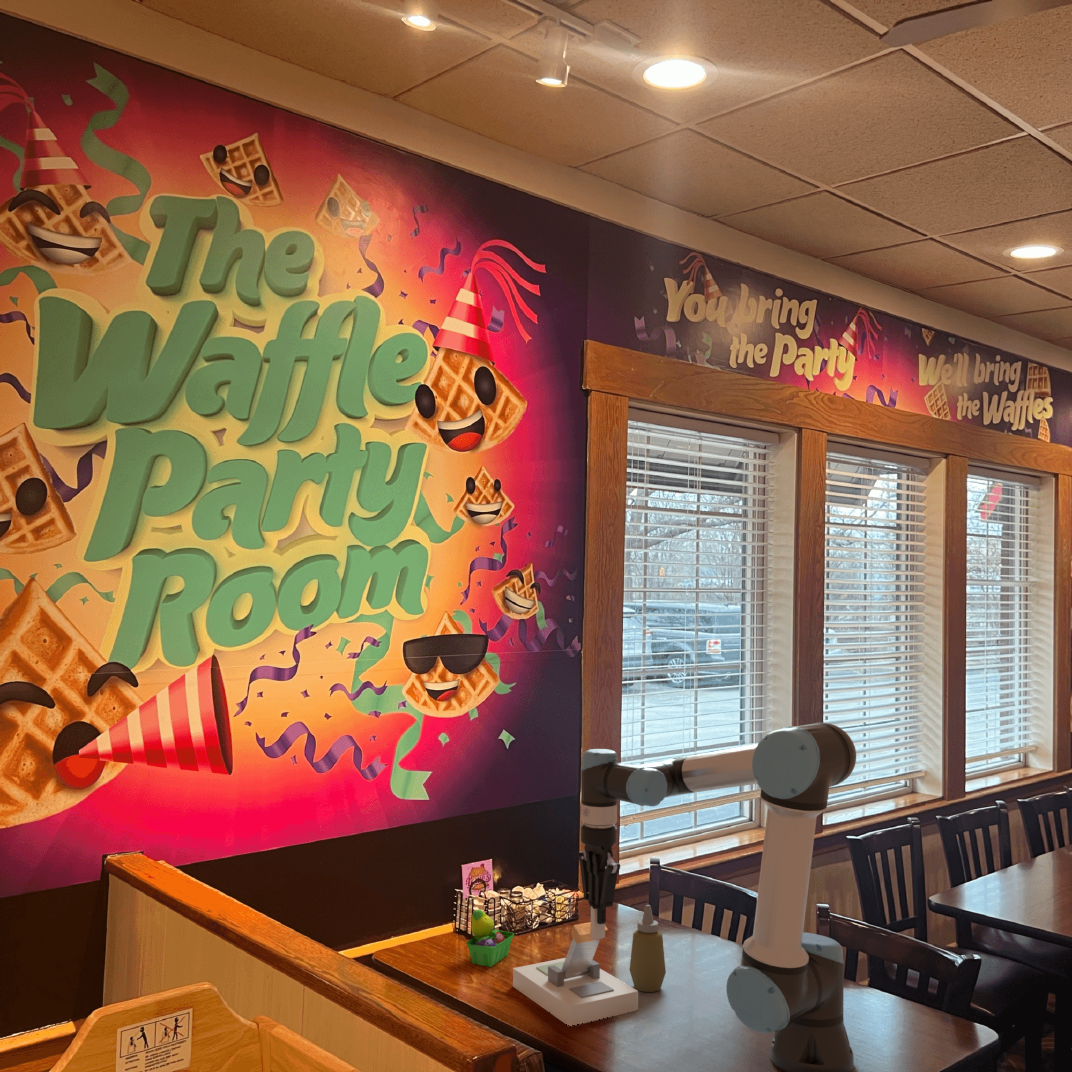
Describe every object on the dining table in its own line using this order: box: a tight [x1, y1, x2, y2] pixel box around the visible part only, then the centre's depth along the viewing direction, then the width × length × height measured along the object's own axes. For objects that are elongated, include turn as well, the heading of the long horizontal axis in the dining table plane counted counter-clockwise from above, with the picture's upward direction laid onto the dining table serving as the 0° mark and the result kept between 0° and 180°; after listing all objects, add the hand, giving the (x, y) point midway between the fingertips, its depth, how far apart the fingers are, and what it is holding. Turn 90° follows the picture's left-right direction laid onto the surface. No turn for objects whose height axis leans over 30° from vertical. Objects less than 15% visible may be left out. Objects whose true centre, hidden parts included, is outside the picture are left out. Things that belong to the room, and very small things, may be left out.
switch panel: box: [512, 957, 639, 1027], centre depth 221 cm, size 24×17×7 cm
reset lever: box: [561, 921, 609, 979], centre depth 219 cm, size 3×7×14 cm, turn 120°
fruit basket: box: [465, 909, 515, 968], centre depth 245 cm, size 11×9×11 cm
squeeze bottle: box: [629, 904, 667, 993], centre depth 228 cm, size 8×8×18 cm
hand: (597, 937), depth 214 cm, fingers closed
